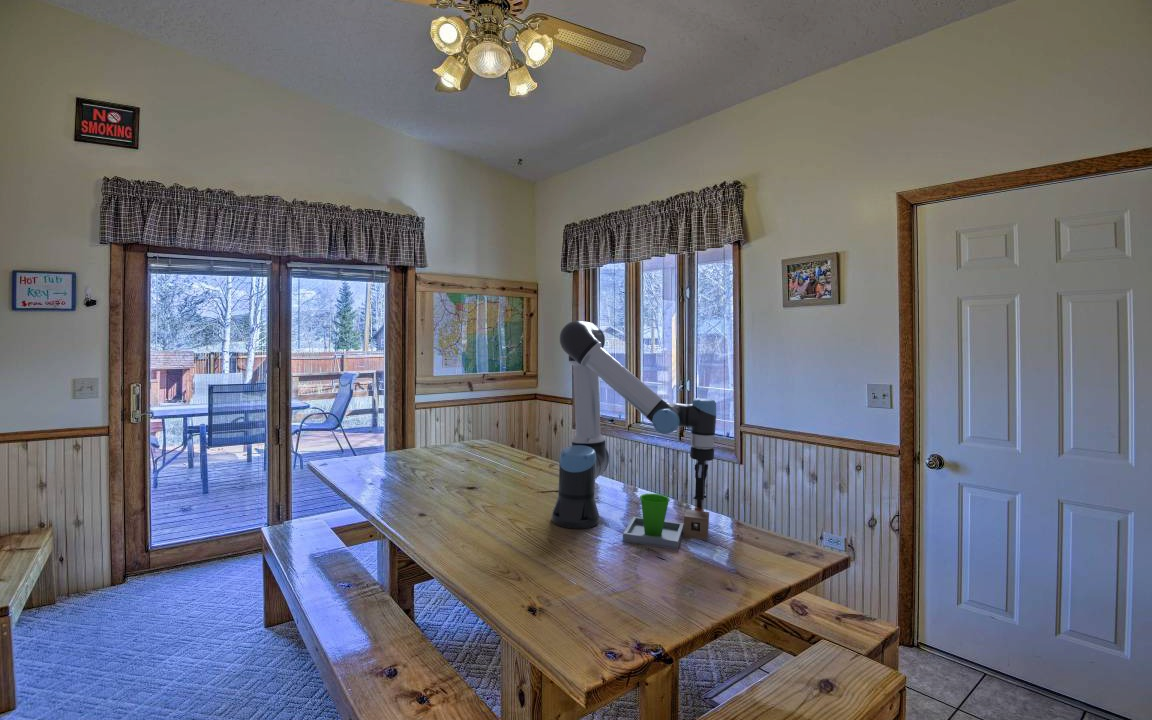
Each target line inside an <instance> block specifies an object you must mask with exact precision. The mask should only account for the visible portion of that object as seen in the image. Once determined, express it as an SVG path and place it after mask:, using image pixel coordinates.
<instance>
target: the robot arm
mask: <svg viewBox="0 0 1152 720" xmlns="http://www.w3.org/2000/svg"><path fill="white" fill-rule="evenodd" d="M605 343H606V337H605V333H604V331H603V330H602V329H601V327H600V326H598V325H597V324H596V323H593V322H592V321H582V320H573V321H571V322H568V323H566V325H565V326H563V328H562V329H561V331H560V333H559V344H560V347H561V348H562V350H563V351H564V353H566V354H567V355H568V363H570V364H571V365H572V367H573V386H574V387H573V390H574V391H573V392H574V413H575V415H574V416H575V436H574V437H573V438H572V439H571V445H570V446H566V447H564V448H563V449H562V450H561V451H560V454H559V459H558V461H559V462H558V463H559V466H558V467H559V468H558V469H559V471H558V495H557V499H556V502H555V505H554V507H553V511H552V513H551V514H552V515H551V521H552V523H554V524H555V525H557V526H559V527H563V528H567V529H576V530H577V529H578V530H579V529H589V528H592V527H595V526H597V525H599V522H600V514H599V509H598V506H597V503H596V500H595V493H596V492H595V489H596V479H597V478H599V477H600V476H601V475H603V473H605V471H606V469H607V467H608V466H609V463H610V454H609V450H608V449H607V447H606V438H605V437H604V436H603V435H602V434H601V431H602V429H601V409H600V407H601V406H600V405H601V404H600V403H601V402H600V382H599V381H600V379H601V380H602V381H603V382H604V383H606V384H607V385H608V386H609V387H610V388H611V389H613V390H614V391H615V392H616V393H617V394H618V395H619V396H621V397H622V398H623V399H624V400H625V401H627V402H628V403H629V404H630V405H631V406H632V407H634V408H635V409H636V410H637V411H638V412H639V413H640V414H641V415H643V417H644V418H646V419H647V420H649V422H651V424H652V426H653V428H654V430H655V431H656V432H658V433H660V434H662V435H663V434H664V435H669V434H671V433H674V431H676V430H678V428H679V427H680V428H681V427H683V428H691V432H690V445H691V446H690V448H689V449H690V451H689V452H690V453H689V457H690V458H691V459H692V460H696V461H697V462H695V464H694V471H695V473H694V478H695V490H694V491H695V494H694V496H692V497H693V500H694V503H695V505H694V508H695V507H702V511H703V512H705V509H704V507H705V499H707V497H708V496H707V495H705V494H706V481H707V476H708V469H709V464H708V463H707V462H711V461H713V460H714V459H715V448H714V447H715V441H717V440H718V438H717V436H716V424H717V403H716V401H715V400H714V399H712V398H699V397H697V398H696V397H695V398H693V400H692V402H691V403H676V402H668V401H665V400H664V399H662V398H661V397H660V396H659V395H658V394H656V392H654V391H653V390H652V389H651V388H649V387H648V386H647V385H646V384H645V383H644V382H643V381H642V380H640V379H639V378H638V377H636V376H635V375H634V374H633V373H632V372H631V371H630V370H629V369H627V368H626V367H625V366H624V365H622V363H620V362H619V361H618V360H617V359H616V358H614V357H613V356H612V355H611V354H610V353H608V351H607V350H605V349H604V346H605ZM715 436H716V437H715Z"/></svg>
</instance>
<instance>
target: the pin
mask: <svg viewBox="0 0 1152 720" xmlns="http://www.w3.org/2000/svg"><path fill="white" fill-rule="evenodd" d="M694 510H695V511H702V507H695V506H694ZM699 525H700V523H697V522H693V525H692V526H693V528H694V529H698V528H699Z"/></svg>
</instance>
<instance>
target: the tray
mask: <svg viewBox="0 0 1152 720" xmlns="http://www.w3.org/2000/svg"><path fill="white" fill-rule="evenodd" d="M683 532H684V522H676V521H669V520H665V521H664V525H663V530H662V534H661V535H660V536H656V537H654V536H648V535H646V534H645V531H644V522H643V517H639V516H632V518H631V519H630V521H629V523H628V525H627V527H626V528H625V529H624V531H623V533H622V542H628V543H633V544H639V545H646V546H653V547H659V548H667V549H672V550H673V549H674V550H678V549H679V546H680V543H681V540H682V537H683Z"/></svg>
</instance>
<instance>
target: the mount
mask: <svg viewBox="0 0 1152 720" xmlns="http://www.w3.org/2000/svg"><path fill="white" fill-rule="evenodd" d="M693 522H697V523H700V525H699V528H698V529H694V528H693V526H692V525H693ZM683 523H684V530H683V534H682V537H683V538H687V537H688V539H694V540H695V539H696V540H701V541H707V540H708V536H709V526H710V512H709V511H704V512H703V511H695V509H689V508H688V509H686V510H685V513H684V516H683Z"/></svg>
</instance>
